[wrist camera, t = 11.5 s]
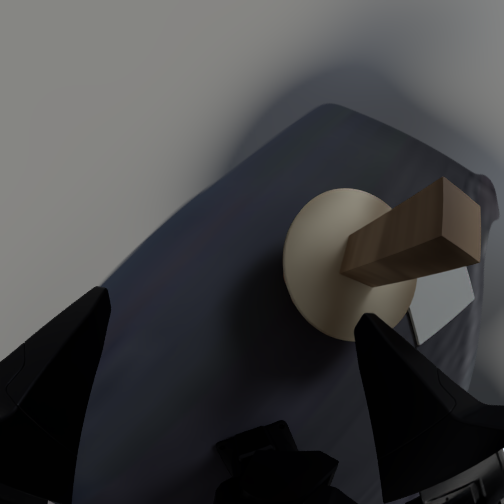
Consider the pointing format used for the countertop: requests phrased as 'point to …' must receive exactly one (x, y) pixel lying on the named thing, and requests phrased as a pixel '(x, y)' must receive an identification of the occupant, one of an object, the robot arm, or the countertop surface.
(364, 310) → the lid
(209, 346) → the countertop surface
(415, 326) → the mat
